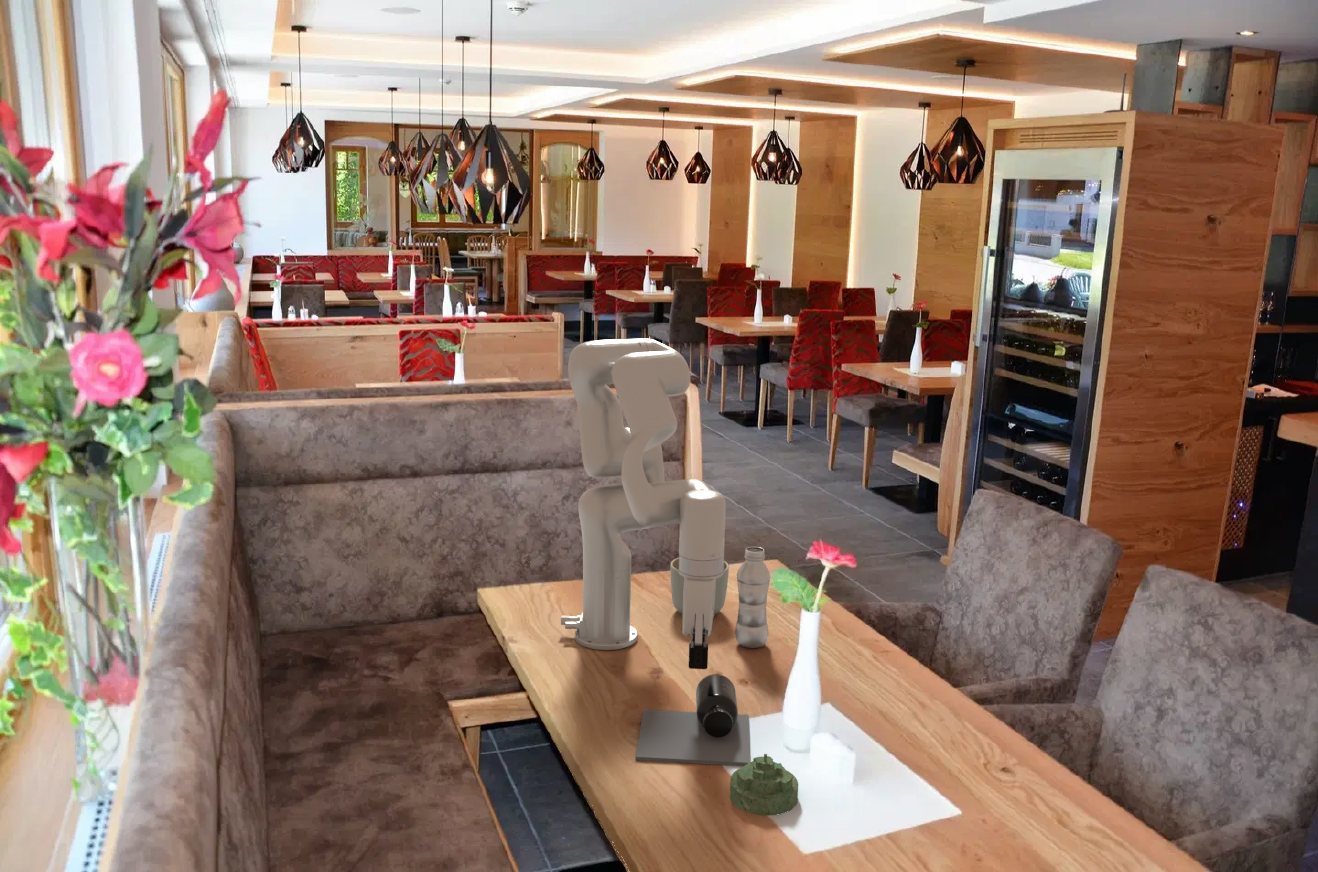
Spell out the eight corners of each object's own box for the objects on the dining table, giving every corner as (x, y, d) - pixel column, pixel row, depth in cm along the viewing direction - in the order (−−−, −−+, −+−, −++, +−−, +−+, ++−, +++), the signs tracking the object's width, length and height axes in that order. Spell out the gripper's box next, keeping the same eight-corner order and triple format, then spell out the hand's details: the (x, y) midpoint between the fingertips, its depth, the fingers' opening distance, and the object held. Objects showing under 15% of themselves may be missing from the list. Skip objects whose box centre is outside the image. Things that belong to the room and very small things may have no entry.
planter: (661, 604, 233) (663, 557, 230) (715, 599, 236) (716, 553, 234) (679, 626, 221) (681, 576, 219) (735, 620, 225) (737, 571, 223)
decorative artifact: (720, 784, 162) (744, 820, 152) (722, 742, 160) (745, 776, 151) (781, 775, 165) (808, 810, 155) (783, 734, 163) (810, 767, 154)
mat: (635, 760, 168) (635, 756, 168) (643, 712, 183) (643, 709, 183) (750, 766, 167) (750, 762, 167) (748, 718, 182) (748, 714, 182)
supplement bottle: (691, 677, 183) (692, 709, 171) (730, 668, 182) (734, 699, 171) (700, 713, 184) (702, 747, 172) (739, 705, 184) (744, 738, 172)
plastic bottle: (769, 652, 209) (773, 555, 205) (734, 651, 209) (738, 554, 205) (766, 639, 216) (771, 544, 211) (733, 638, 216) (736, 543, 211)
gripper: (680, 549, 185) (677, 648, 189) (676, 578, 171) (674, 685, 174) (723, 551, 185) (720, 650, 189) (723, 580, 170) (720, 687, 174)
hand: (698, 666), depth 181 cm, fingers closed
